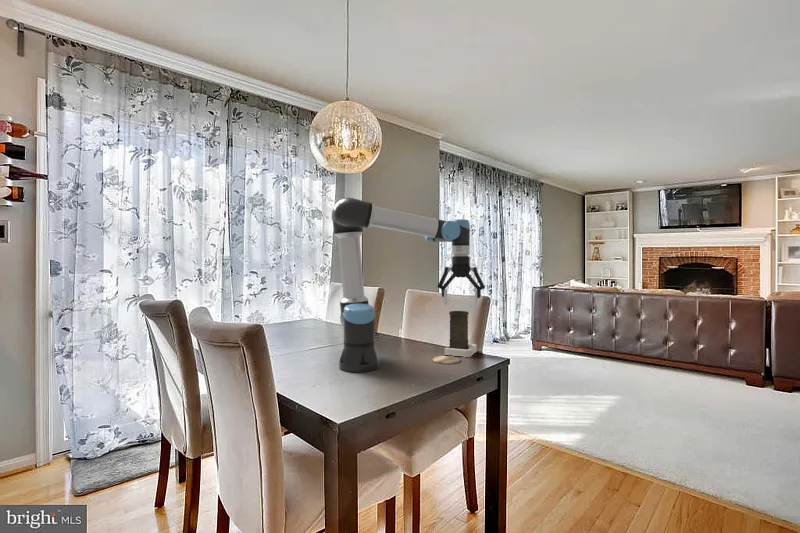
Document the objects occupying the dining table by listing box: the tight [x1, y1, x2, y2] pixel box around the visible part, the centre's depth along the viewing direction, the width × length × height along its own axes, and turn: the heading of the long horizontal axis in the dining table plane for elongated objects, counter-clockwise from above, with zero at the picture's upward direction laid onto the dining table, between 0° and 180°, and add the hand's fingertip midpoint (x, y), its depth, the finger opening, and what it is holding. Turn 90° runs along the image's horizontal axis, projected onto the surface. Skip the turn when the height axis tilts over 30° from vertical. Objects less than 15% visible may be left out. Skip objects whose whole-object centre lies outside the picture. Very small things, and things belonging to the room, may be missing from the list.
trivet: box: [432, 355, 461, 365], centre depth 169 cm, size 11×11×1 cm
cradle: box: [444, 343, 478, 358], centre depth 182 cm, size 11×14×3 cm
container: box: [448, 310, 470, 350], centre depth 183 cm, size 9×9×18 cm
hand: (460, 305), depth 181 cm, fingers open, 13 cm apart
